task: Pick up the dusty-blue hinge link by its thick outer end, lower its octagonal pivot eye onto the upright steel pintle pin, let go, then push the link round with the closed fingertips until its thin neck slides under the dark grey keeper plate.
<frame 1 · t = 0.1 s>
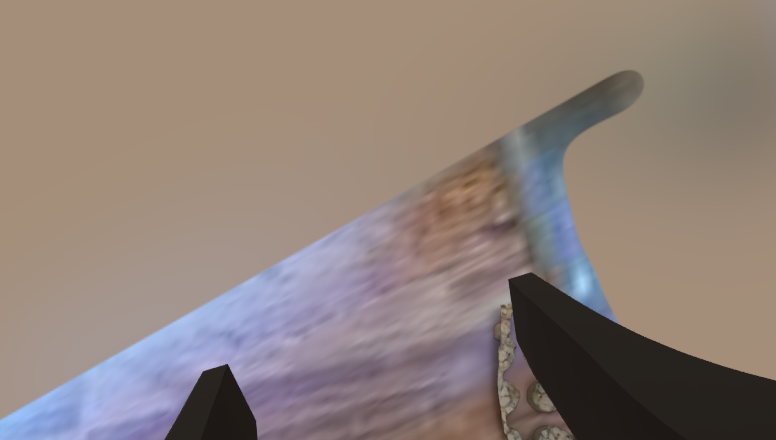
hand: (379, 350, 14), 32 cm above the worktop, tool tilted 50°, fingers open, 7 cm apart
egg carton: (540, 374, 44), on the worktop
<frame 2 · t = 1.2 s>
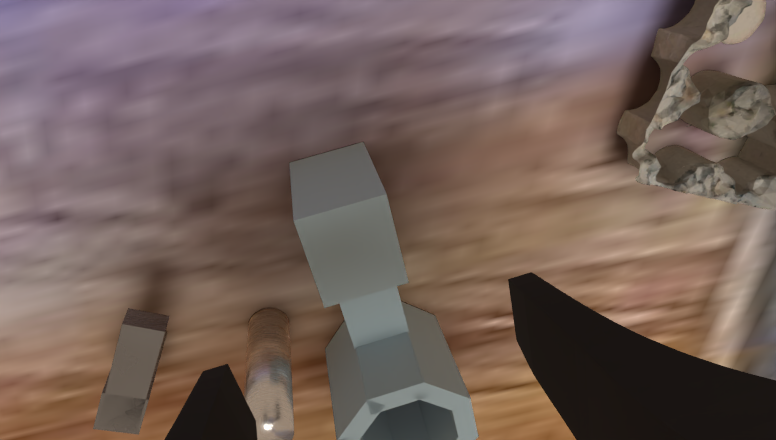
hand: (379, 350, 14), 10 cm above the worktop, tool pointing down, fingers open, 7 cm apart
link: (338, 191, 22), on the worktop
pintle: (269, 324, 24), on the worktop
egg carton: (715, 56, 23), on the worktop
keeper: (141, 346, 21), on the worktop
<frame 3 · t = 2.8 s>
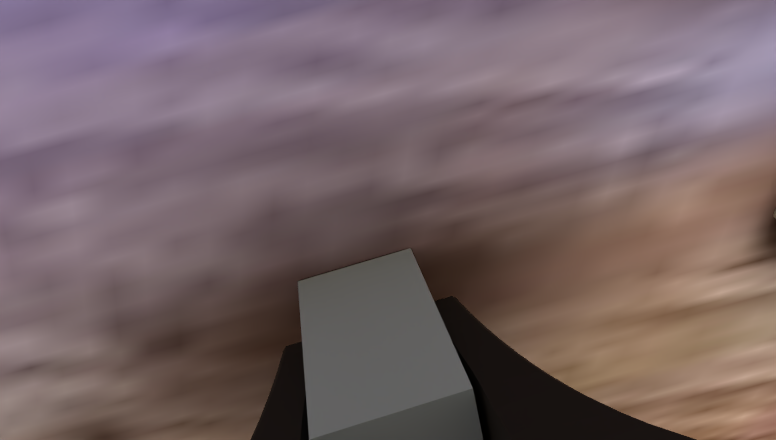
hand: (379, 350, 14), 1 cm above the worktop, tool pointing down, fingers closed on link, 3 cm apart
link: (370, 316, 15), on the worktop, touching gripper
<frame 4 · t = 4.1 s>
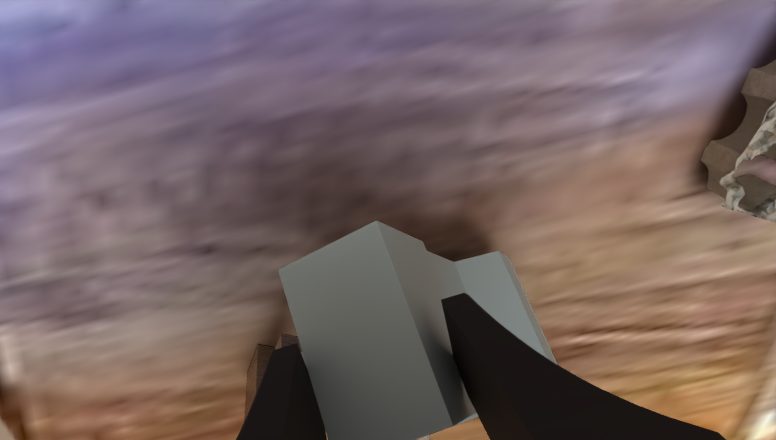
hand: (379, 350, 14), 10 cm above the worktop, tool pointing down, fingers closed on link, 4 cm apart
link: (355, 254, 15), point 8 cm above the worktop, tilted 42°, touching gripper, pintle
keeper: (279, 365, 24), on the worktop
when the fingers open (3 cm above the worktop, at t = 5.9 s): link stays where it is, on the worktop.
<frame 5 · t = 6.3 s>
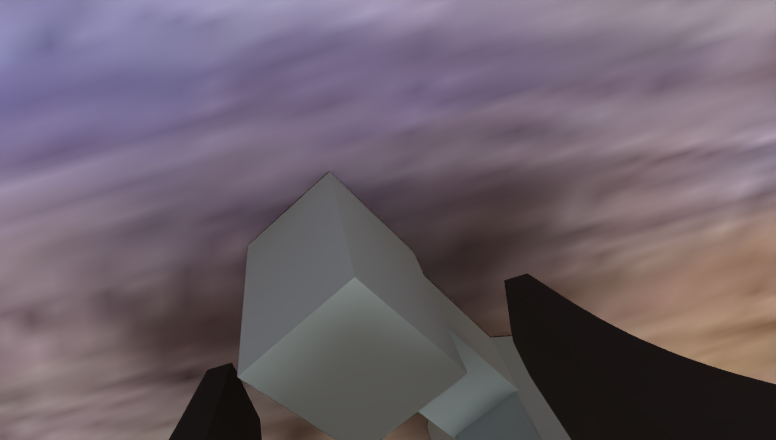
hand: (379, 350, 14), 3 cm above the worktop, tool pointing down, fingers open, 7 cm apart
link: (333, 248, 15), on the worktop
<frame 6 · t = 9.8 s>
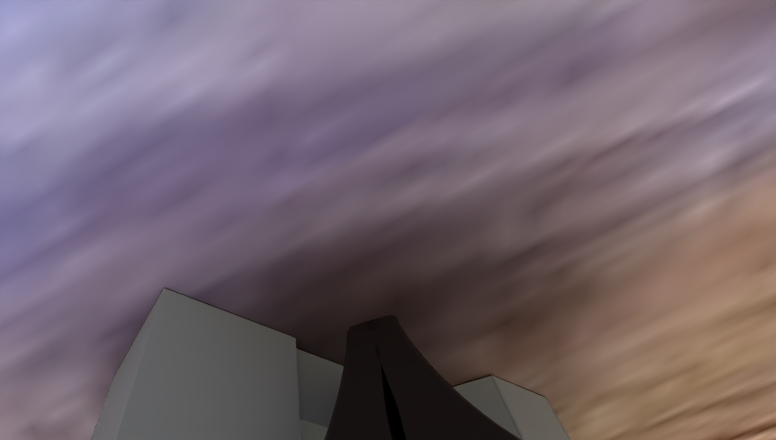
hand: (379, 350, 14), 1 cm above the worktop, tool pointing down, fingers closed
link: (206, 357, 14), on the worktop, touching gripper
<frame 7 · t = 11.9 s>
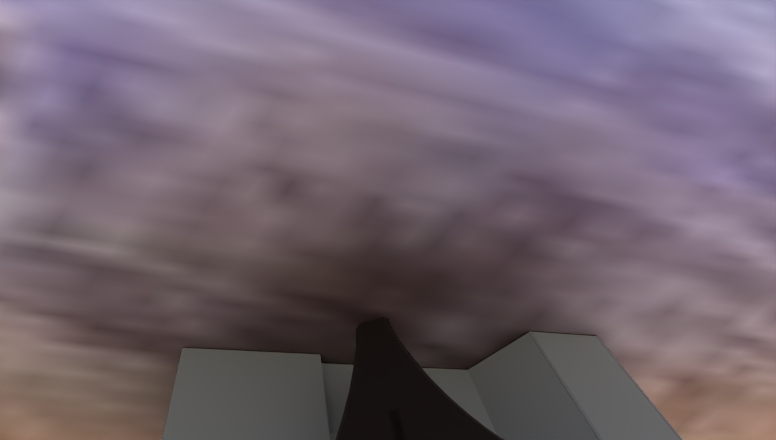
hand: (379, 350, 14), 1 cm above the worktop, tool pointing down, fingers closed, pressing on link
link: (247, 394, 15), on the worktop, touching gripper, keeper
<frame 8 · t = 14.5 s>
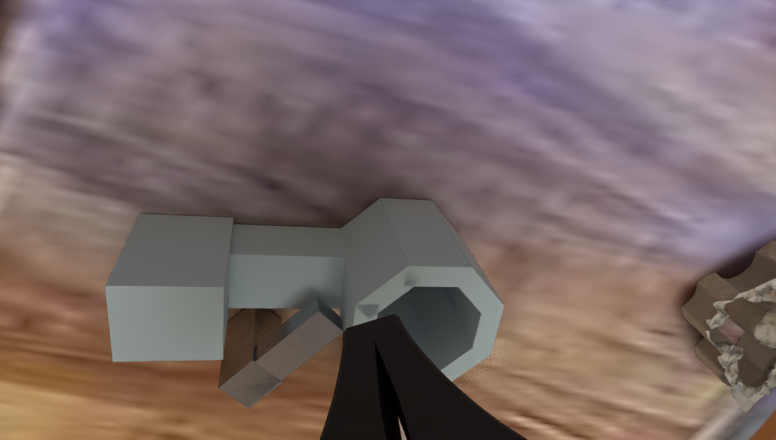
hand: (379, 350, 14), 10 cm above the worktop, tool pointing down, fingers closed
link: (188, 248, 22), on the worktop
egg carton: (767, 285, 30), on the worktop
keeper: (281, 327, 22), on the worktop
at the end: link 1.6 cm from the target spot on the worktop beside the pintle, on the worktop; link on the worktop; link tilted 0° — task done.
